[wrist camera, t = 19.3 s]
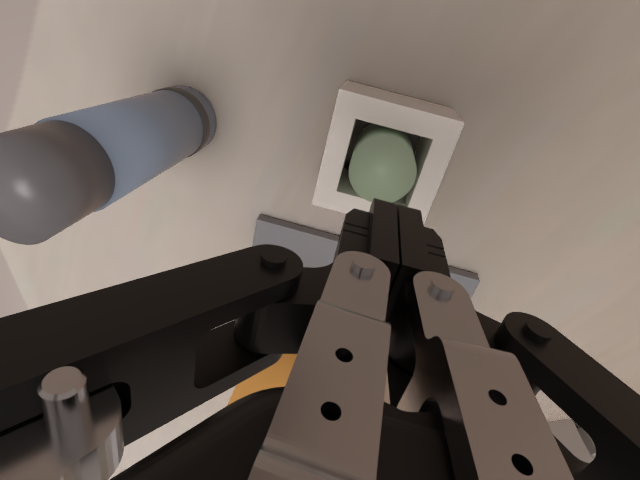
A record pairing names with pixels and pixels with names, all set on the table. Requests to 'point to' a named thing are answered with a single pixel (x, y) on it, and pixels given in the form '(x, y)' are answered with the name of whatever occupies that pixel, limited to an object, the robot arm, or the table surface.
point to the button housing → (397, 113)
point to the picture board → (323, 246)
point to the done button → (382, 164)
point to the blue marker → (94, 158)
